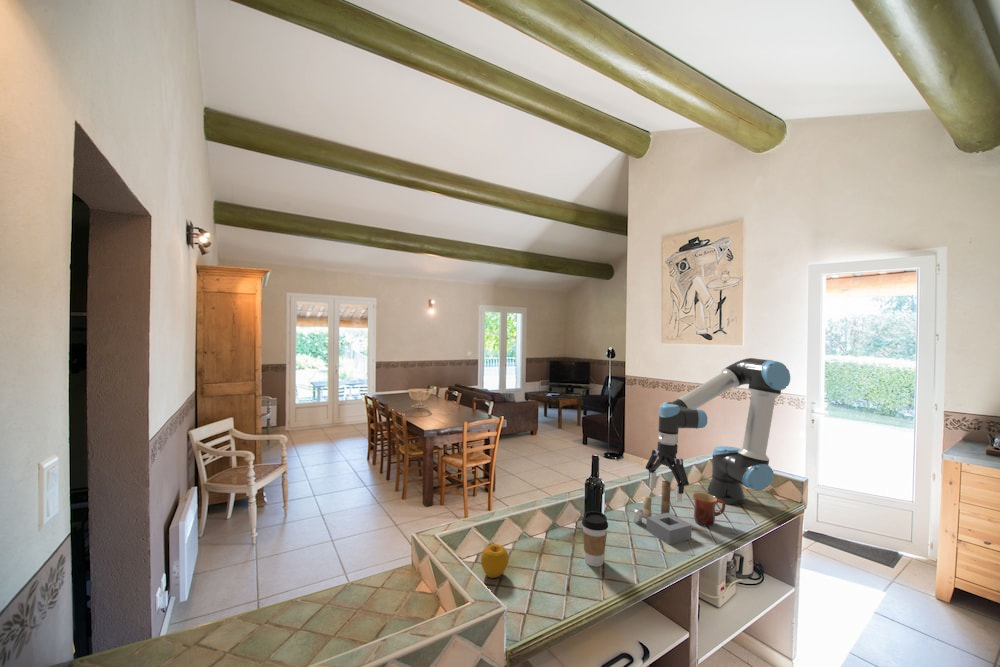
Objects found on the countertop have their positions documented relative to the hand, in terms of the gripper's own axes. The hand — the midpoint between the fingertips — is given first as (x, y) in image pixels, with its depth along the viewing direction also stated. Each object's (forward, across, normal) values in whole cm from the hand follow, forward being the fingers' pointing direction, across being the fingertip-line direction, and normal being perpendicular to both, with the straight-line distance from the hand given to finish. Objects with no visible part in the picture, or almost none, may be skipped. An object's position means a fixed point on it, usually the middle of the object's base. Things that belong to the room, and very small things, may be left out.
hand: (665, 494), depth 170 cm
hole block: (+9, +12, -10) cm, 18 cm away
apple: (+10, +9, -80) cm, 81 cm away
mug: (+9, +11, +12) cm, 19 cm away
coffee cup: (+10, +15, -47) cm, 50 cm away
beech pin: (+9, -2, -7) cm, 12 cm away
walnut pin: (+9, 0, 0) cm, 9 cm away
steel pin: (+9, 0, -14) cm, 17 cm away
